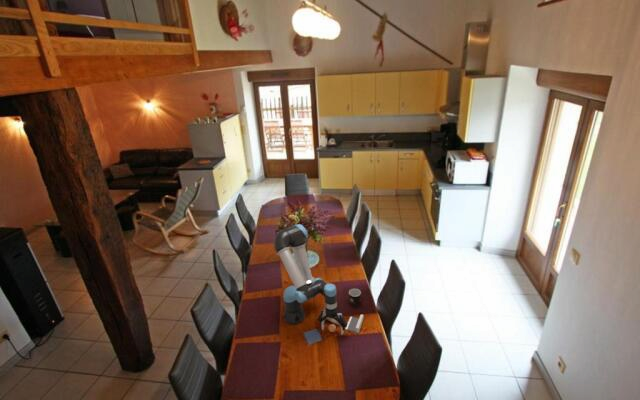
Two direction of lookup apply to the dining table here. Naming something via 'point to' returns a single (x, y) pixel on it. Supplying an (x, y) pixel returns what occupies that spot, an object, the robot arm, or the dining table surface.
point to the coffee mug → (355, 297)
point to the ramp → (330, 319)
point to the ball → (332, 328)
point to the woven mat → (312, 336)
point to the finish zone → (355, 324)
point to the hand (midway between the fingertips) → (332, 331)
